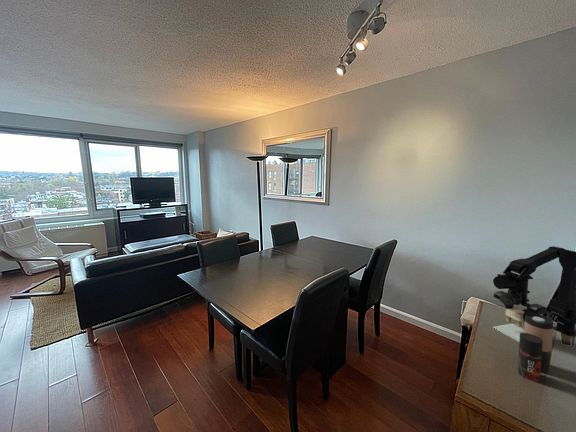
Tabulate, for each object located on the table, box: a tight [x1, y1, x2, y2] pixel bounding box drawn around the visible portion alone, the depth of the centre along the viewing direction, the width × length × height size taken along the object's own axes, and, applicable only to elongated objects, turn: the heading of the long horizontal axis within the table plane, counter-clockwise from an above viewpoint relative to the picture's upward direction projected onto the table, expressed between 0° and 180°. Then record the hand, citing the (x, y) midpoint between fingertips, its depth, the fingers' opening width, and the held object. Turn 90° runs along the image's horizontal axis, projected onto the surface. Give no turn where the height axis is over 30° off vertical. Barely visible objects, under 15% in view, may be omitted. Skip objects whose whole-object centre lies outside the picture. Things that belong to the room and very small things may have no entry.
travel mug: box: [523, 313, 554, 373], centre depth 91 cm, size 8×8×20 cm
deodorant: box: [517, 333, 543, 382], centre depth 87 cm, size 6×6×15 cm
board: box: [492, 323, 524, 343], centre depth 113 cm, size 12×12×1 cm
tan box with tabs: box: [505, 307, 525, 328], centre depth 112 cm, size 6×6×6 cm
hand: (517, 318), depth 112 cm, fingers closed on tan box with tabs, 6 cm apart
